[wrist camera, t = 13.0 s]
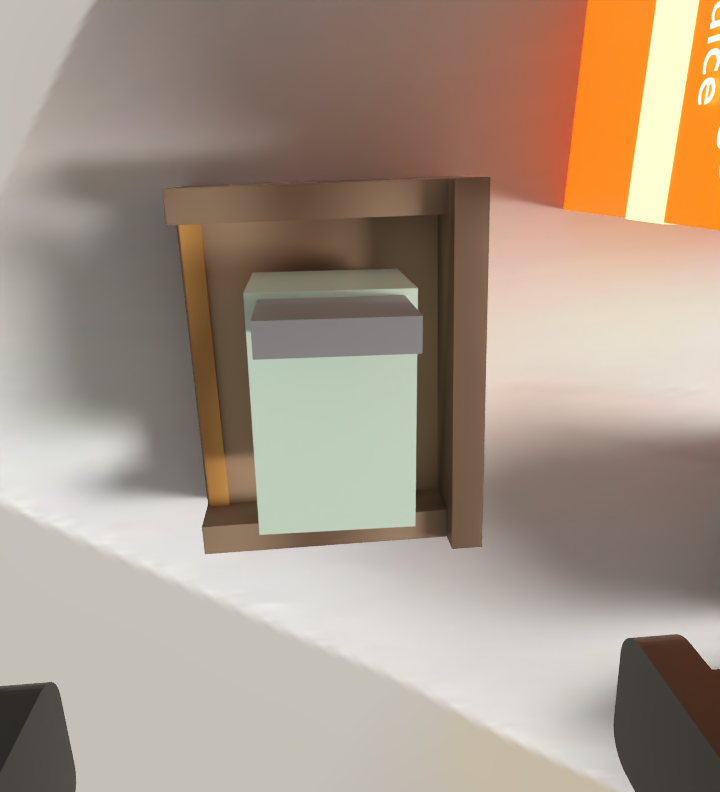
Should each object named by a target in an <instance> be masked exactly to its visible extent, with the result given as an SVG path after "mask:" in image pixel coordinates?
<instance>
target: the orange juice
mask: <svg viewBox="0 0 720 792" xmlns="http://www.w3.org/2000/svg"><path fill="white" fill-rule="evenodd" d="M564 210H571V211H579V212H587V213H594V214H602V215H609V216H617V217H624V218H625V219H629V220H636V221H643V222H651V223H658V224H677V225H685V226H692V227H700V228H707V229H715V230H720V0H588V5H587V14H586V22H585V31H584V39H583V48H582V56H581V65H580V73H579V82H578V90H577V99H576V107H575V116H574V124H573V133H572V141H571V150H570V158H569V167H568V175H567V184H566V192H565V201H564Z"/></svg>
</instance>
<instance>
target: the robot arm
mask: <svg viewBox="0 0 720 792" xmlns="http://www.w3.org/2000/svg"><path fill="white" fill-rule="evenodd" d="M614 737H615V743H616V748H617V752H618V756H619V759H620V762H621V764H622V767H623V769H624V771H625V773H626V775H627V777H628V779H629V781H630V783H631V785H632V787H633V788H634V790H635V792H720V669H718V670H711V668H710V667H709V666H708V665H707V663H706V662H705V661H704V660H703V659H702V657H701V656H700V655H699V654H698V652H697V651H696V650H695V649H694V648H693V646H692V645H691V644H690V643H689V642H688V640H687V639H686V638H684V637H683V636H681V635H677V634H675V635H663V636H650V637H637V638H628V639H626V640H625V641H624V643H623V645H622V648H621V655H620V665H619V675H618V685H617V695H616V705H615V715H614ZM75 790H76V772H75V766H74V760H73V755H72V751H71V746H70V741H69V736H68V731H67V726H66V721H65V716H64V711H63V706H62V702H61V697H60V693H59V690H58V687H57V686H56V684H54V683H52V682H47V683H34V684H22V685H9V686H0V792H75Z"/></svg>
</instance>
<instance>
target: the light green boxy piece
mask: <svg viewBox="0 0 720 792" xmlns="http://www.w3.org/2000/svg"><path fill="white" fill-rule="evenodd" d="M243 297H244V312H245V327H246V342H247V357H248V372H249V387H250V401H251V416H252V431H253V446H254V461H255V476H256V491H257V506H258V521H259V535H266V534H284V533H302V532H320V531H338V530H356V529H375V528H393V527H411V526H415V520H416V426H417V354H422V351H423V315H422V314H421V313H420V312H419V311H418V288H417V287H416V286H415V285H414V284H413V283H412V282H411V281H410V280H409V279H408V278H407V277H406V276H405V275H404V274H403V273H402V272H400V271H399V270H398V269H366V270H329V271H291V272H254V273H252V275H251V277H250V280H249V282H248V284H247V286H246V288H245V290H244V293H243Z"/></svg>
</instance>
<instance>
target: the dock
mask: <svg viewBox="0 0 720 792" xmlns="http://www.w3.org/2000/svg"><path fill="white" fill-rule="evenodd" d="M162 191H163V199H164V208H165V216H166V225H167V226H168V225H177V232H178V241H179V250H180V259H181V268H182V277H183V285H184V294H185V303H186V312H187V321H188V330H189V338H190V347H191V356H192V365H193V374H194V383H195V392H196V400H197V409H198V418H199V427H200V436H201V445H202V454H203V462H204V471H205V480H206V489H207V498H208V507H207V511H206V514H205V518H204V522H203V525H202V532H203V540H204V549H205V554H213V553H227V552H240V551H254V550H267V549H281V548H294V547H308V546H322V545H335V544H349V543H362V542H376V541H389V540H403V539H416V538H430V537H443V536H447V538H448V540H449V543H450V545H451V547H452V549H456V548H469V547H482V518H483V474H484V430H485V387H486V343H487V299H488V255H489V211H490V177H430V178H403V179H376V180H349V181H322V182H295V183H267V184H240V185H213V186H186V187H177V188H168V189H162ZM366 269H398V270H399V271H400V272H402V273H403V274H404V275H405V276H406V277H407V278H408V279H409V280H410V281H411V282H412V283H413V284H414V285H415V286H416V287H417V288H418V311H419V312H420V313H421V314H422V315H423V351H422V354H417V426H416V520H415V526H411V527H393V528H375V529H356V530H338V531H320V532H302V533H284V534H266V535H259V521H258V506H257V491H256V476H255V461H254V446H253V431H252V416H251V401H250V387H249V372H248V357H247V342H246V327H245V312H244V297H243V293H244V290H245V288H246V286H247V284H248V282H249V280H250V277H251V275H252V273H254V272H291V271H329V270H366Z"/></svg>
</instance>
